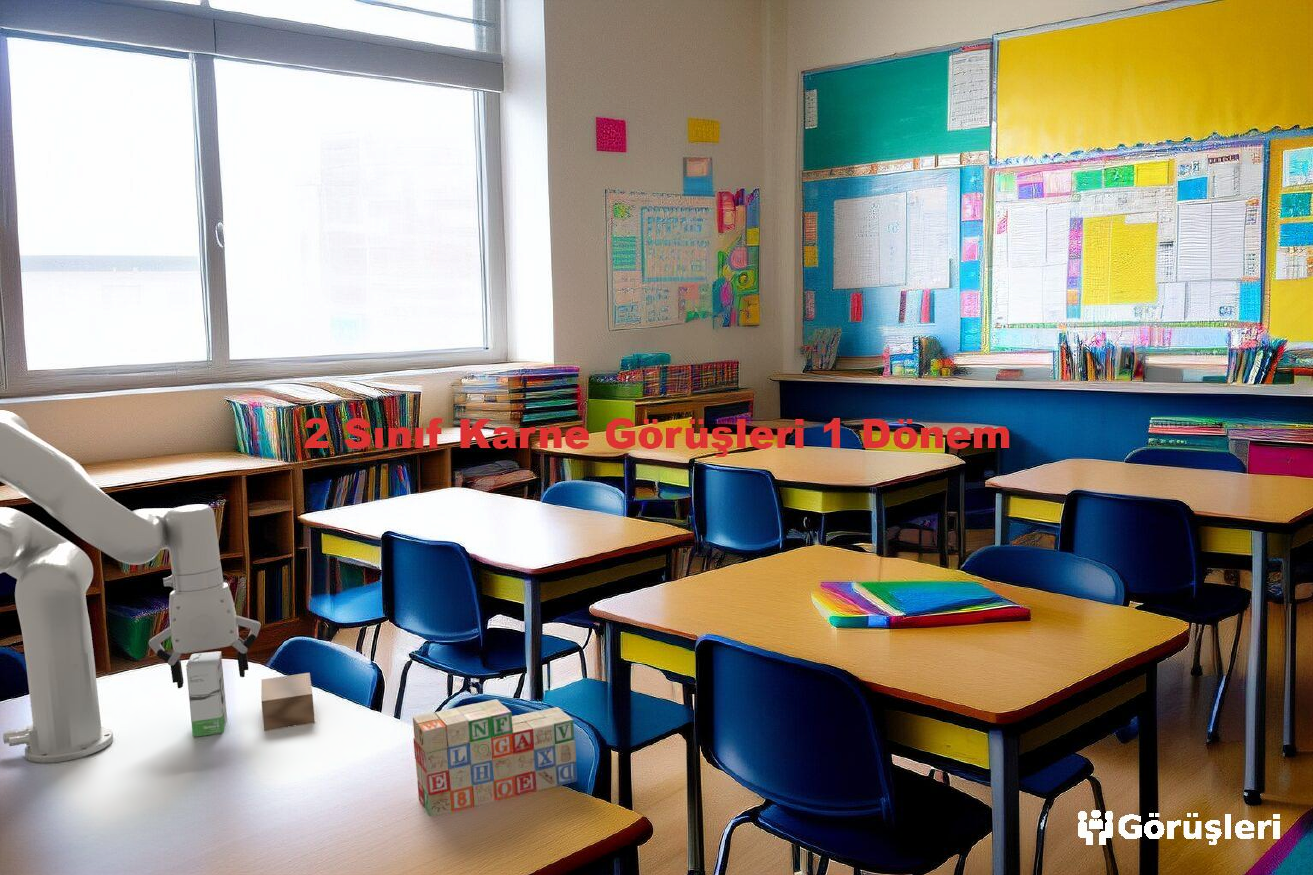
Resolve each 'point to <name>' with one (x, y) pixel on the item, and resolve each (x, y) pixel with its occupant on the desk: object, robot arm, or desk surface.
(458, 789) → the stack of blocks
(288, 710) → the walnut block
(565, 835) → the desk surface
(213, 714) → the ink box
